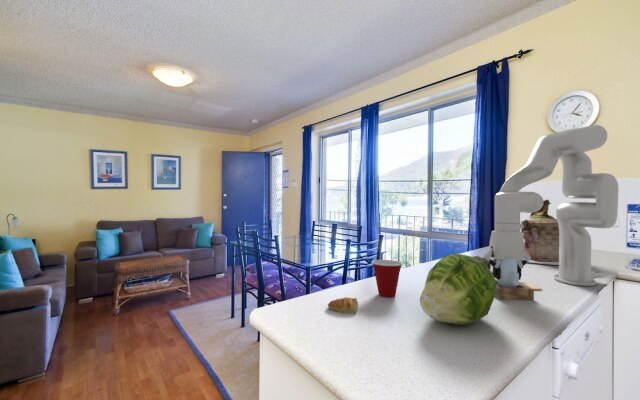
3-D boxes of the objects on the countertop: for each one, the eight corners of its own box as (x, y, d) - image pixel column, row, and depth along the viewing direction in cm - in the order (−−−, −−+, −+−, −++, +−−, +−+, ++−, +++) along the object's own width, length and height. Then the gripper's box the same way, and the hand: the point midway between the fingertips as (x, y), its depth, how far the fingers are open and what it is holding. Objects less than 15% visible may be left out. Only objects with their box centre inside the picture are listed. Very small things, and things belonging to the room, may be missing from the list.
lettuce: (399, 314, 85) (399, 260, 80) (449, 288, 96) (452, 238, 91) (456, 356, 70) (461, 291, 65) (508, 319, 81) (516, 261, 76)
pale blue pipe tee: (509, 290, 104) (509, 254, 104) (526, 300, 94) (526, 261, 94) (492, 289, 105) (492, 254, 104) (507, 299, 95) (507, 261, 95)
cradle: (514, 288, 106) (514, 279, 105) (533, 300, 95) (533, 289, 95) (483, 288, 107) (483, 279, 106) (498, 299, 96) (498, 288, 96)
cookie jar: (568, 258, 153) (568, 198, 152) (579, 268, 132) (580, 199, 132) (513, 253, 166) (513, 198, 166) (515, 262, 145) (515, 199, 145)
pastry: (326, 313, 87) (326, 301, 86) (329, 304, 93) (329, 293, 93) (357, 315, 85) (357, 302, 85) (358, 306, 92) (358, 294, 92)
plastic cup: (405, 291, 104) (405, 259, 104) (400, 302, 94) (400, 266, 94) (375, 287, 109) (375, 256, 108) (368, 297, 99) (367, 263, 98)
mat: (528, 283, 112) (528, 281, 112) (542, 290, 104) (542, 288, 104) (506, 283, 112) (506, 281, 112) (518, 289, 104) (518, 288, 104)
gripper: (526, 226, 103) (526, 275, 103) (476, 226, 105) (476, 275, 105) (540, 228, 96) (540, 282, 96) (486, 228, 97) (486, 281, 97)
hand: (506, 278), depth 100 cm, fingers closed on pale blue pipe tee, 6 cm apart
